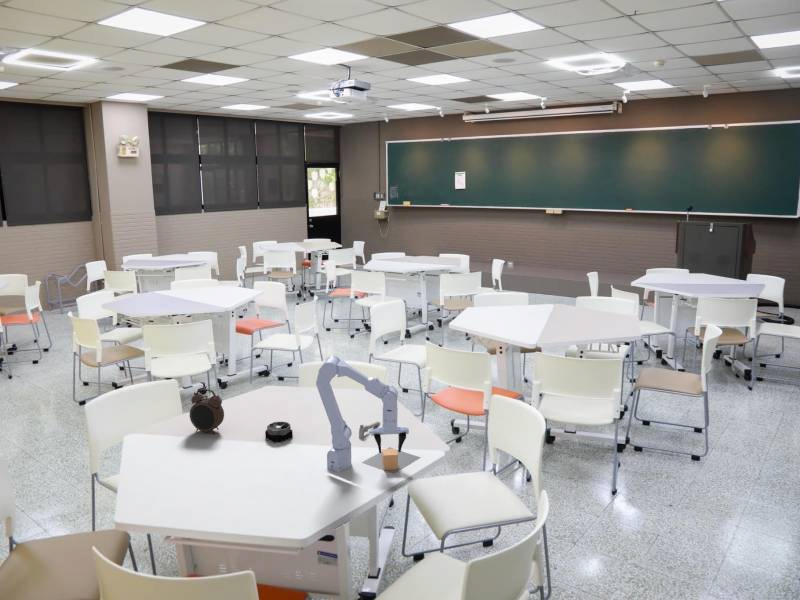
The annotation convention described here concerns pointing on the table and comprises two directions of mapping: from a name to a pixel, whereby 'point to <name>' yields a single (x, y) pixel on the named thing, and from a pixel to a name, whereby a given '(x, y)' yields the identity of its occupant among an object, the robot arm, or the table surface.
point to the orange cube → (389, 459)
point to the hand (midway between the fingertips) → (389, 451)
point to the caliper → (366, 428)
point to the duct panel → (403, 461)
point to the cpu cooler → (278, 431)
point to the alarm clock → (206, 411)
